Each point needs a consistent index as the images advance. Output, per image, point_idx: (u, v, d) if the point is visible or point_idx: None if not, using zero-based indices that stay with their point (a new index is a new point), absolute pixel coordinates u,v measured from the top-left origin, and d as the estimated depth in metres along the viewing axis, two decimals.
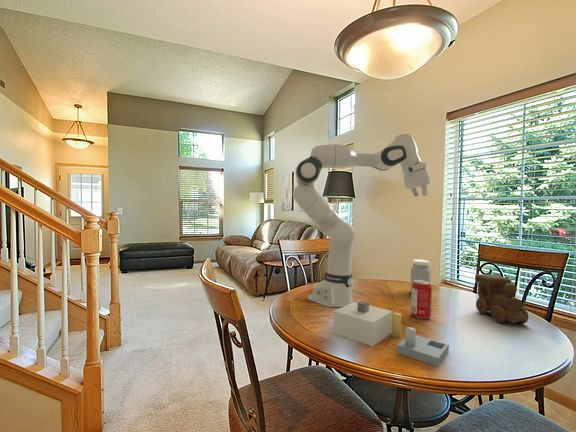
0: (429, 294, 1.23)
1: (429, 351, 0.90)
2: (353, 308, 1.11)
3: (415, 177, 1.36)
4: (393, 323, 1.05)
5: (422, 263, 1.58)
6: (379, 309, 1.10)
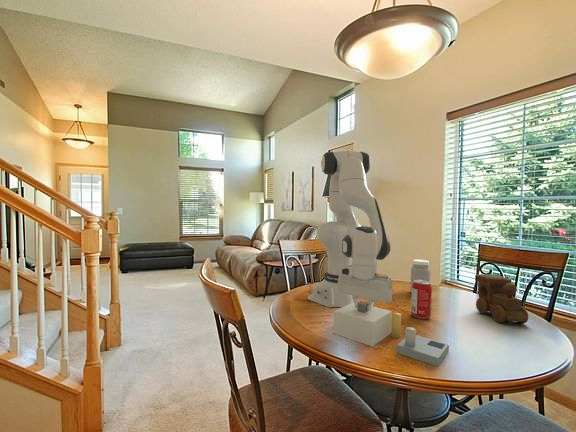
0: (429, 294, 1.23)
1: (429, 351, 0.90)
2: (353, 308, 1.11)
3: None
4: (393, 323, 1.05)
5: (422, 263, 1.58)
6: (379, 309, 1.10)
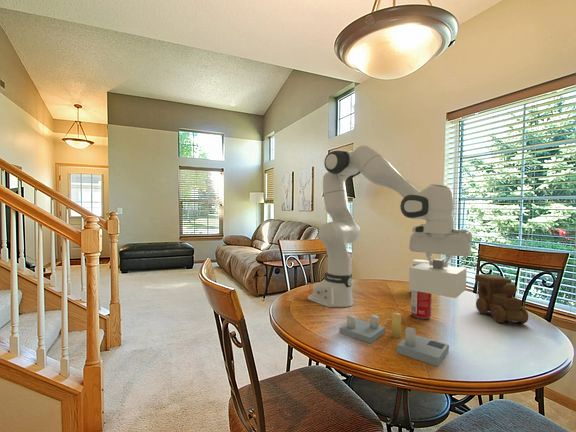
0: (429, 294, 1.23)
1: (429, 351, 0.90)
2: (426, 266, 1.11)
3: None
4: (393, 323, 1.05)
5: None
6: (453, 267, 1.11)
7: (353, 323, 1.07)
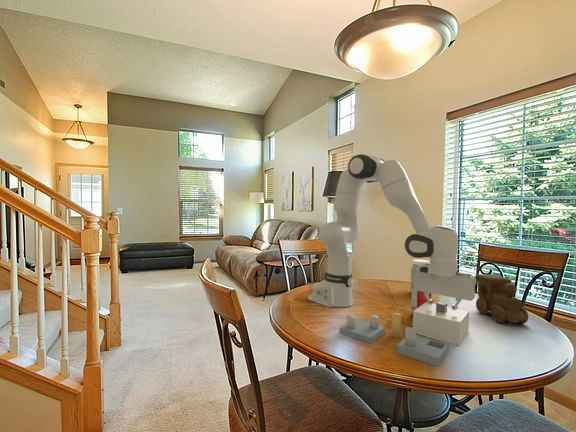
0: (429, 294, 1.23)
1: (429, 351, 0.90)
2: (430, 308, 1.12)
3: None
4: (393, 323, 1.05)
5: (422, 263, 1.58)
6: None
7: (353, 323, 1.07)
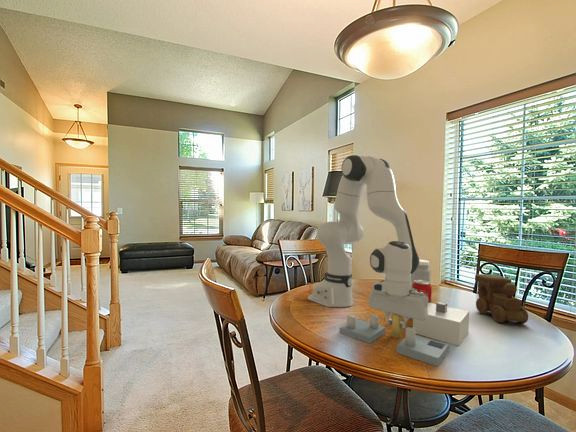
0: (429, 294, 1.23)
1: (429, 351, 0.90)
2: (430, 308, 1.12)
3: None
4: (393, 323, 1.05)
5: (422, 263, 1.58)
6: (456, 309, 1.12)
7: (353, 323, 1.07)
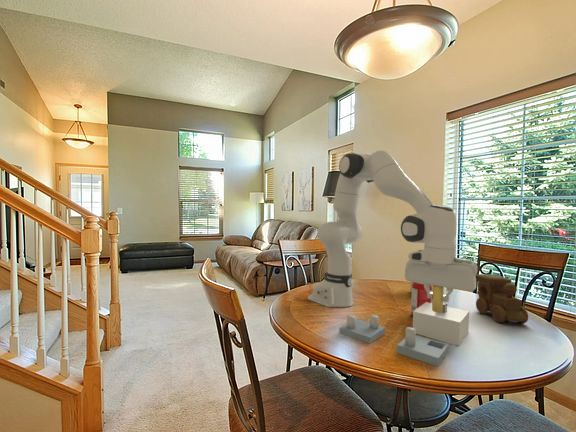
0: None
1: (429, 351, 0.90)
2: (430, 308, 1.12)
3: None
4: (434, 296, 0.94)
5: None
6: (456, 309, 1.12)
7: (353, 323, 1.07)
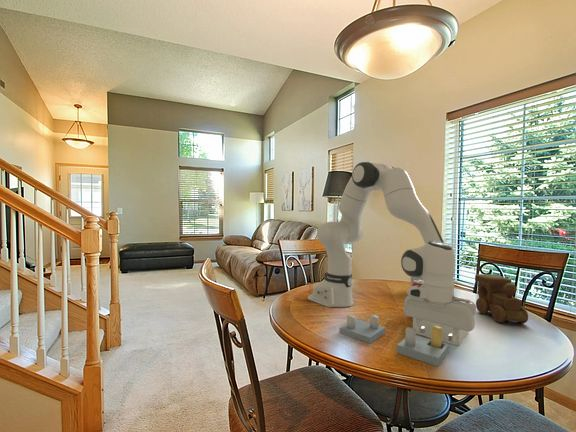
0: None
1: (429, 351, 0.90)
2: None
3: None
4: (433, 338, 0.94)
5: None
6: None
7: (353, 323, 1.07)
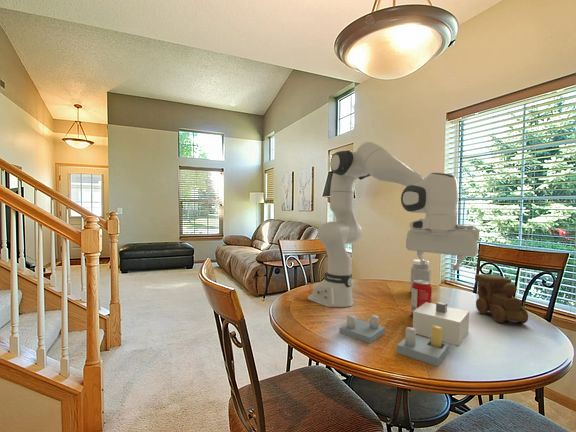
0: (429, 294, 1.23)
1: (429, 351, 0.90)
2: (430, 308, 1.12)
3: None
4: (433, 338, 0.94)
5: None
6: (456, 309, 1.12)
7: (353, 323, 1.07)
